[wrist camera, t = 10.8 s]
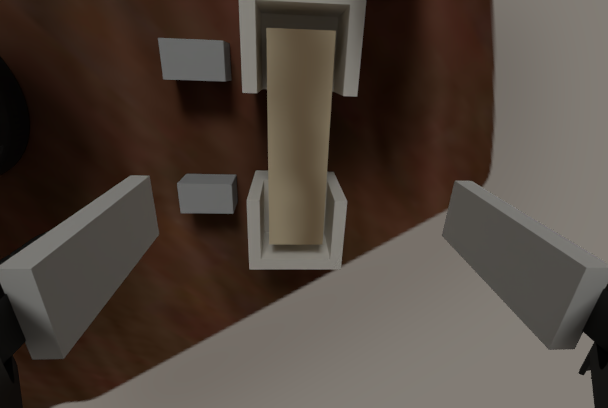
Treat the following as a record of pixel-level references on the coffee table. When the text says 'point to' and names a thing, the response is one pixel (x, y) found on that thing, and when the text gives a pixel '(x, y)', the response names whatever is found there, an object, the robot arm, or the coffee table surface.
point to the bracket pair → (348, 46)
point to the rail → (298, 132)
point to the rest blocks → (202, 67)
